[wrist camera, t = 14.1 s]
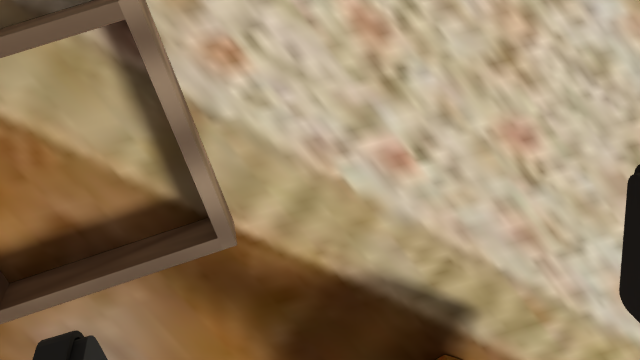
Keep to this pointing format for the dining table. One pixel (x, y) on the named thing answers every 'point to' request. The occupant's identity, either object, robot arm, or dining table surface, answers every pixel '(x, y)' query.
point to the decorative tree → (447, 358)
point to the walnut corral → (218, 230)
